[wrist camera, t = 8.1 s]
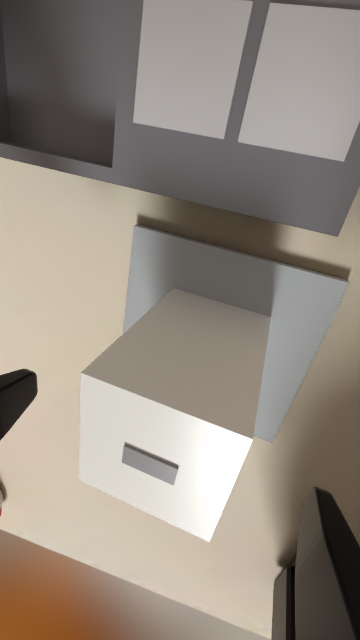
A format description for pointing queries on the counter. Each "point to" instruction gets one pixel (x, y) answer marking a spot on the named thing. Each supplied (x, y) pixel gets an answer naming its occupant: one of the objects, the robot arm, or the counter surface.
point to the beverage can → (0, 500)
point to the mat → (241, 304)
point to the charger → (174, 409)
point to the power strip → (191, 100)
